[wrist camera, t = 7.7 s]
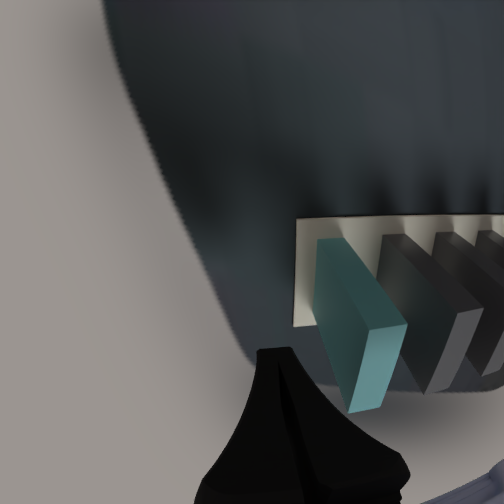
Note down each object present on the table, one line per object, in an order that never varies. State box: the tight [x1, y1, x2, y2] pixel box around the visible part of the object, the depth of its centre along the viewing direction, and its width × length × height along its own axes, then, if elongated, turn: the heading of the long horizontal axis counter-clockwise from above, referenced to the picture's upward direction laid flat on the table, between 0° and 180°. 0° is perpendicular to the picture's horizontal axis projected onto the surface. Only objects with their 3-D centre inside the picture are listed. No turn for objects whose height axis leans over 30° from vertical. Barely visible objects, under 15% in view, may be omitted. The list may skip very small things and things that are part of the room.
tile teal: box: [313, 238, 408, 413], centre depth 15 cm, size 2×5×8 cm, turn 2°
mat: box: [293, 215, 504, 327], centre depth 19 cm, size 20×7×1 cm, turn 92°
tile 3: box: [431, 232, 504, 377], centre depth 16 cm, size 2×5×8 cm, turn 2°
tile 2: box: [376, 234, 484, 395], centre depth 15 cm, size 2×5×8 cm, turn 2°
